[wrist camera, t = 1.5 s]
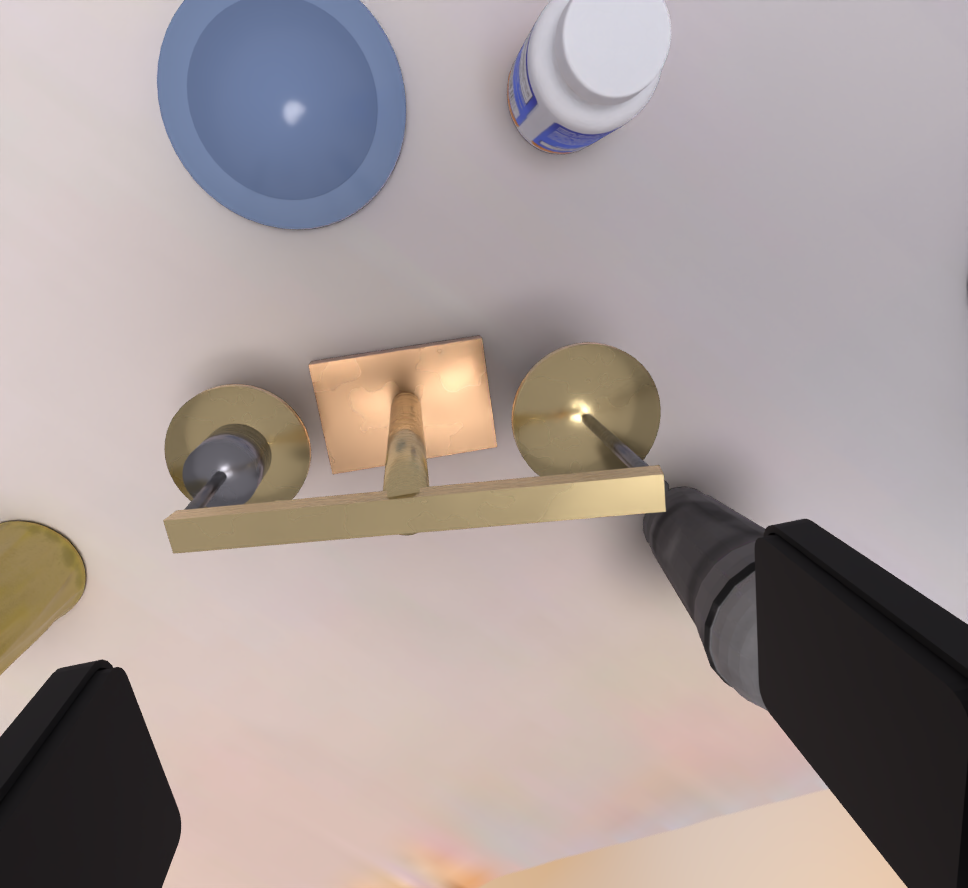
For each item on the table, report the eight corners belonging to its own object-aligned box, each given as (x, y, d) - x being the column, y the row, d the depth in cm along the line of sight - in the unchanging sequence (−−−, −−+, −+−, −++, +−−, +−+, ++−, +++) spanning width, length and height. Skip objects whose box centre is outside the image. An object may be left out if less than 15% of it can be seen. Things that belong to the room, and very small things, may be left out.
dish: (383, -41, 30) (382, -55, 28) (423, 213, 33) (423, 211, 32) (136, -14, 29) (123, -26, 27) (202, 244, 32) (193, 244, 31)
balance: (596, 313, 35) (768, 371, 19) (606, 425, 37) (769, 569, 21) (185, 376, 34) (-30, 501, 17) (217, 490, 36) (51, 702, 19)
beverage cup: (599, 506, 39) (788, 755, 20) (706, 441, 38) (1003, 633, 19) (652, 595, 41) (868, 897, 22) (754, 536, 40) (1063, 790, 21)
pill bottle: (634, 94, 32) (725, 33, 23) (559, 179, 33) (619, 153, 24) (557, 6, 31) (622, -97, 22) (481, 98, 32) (512, 35, 22)
